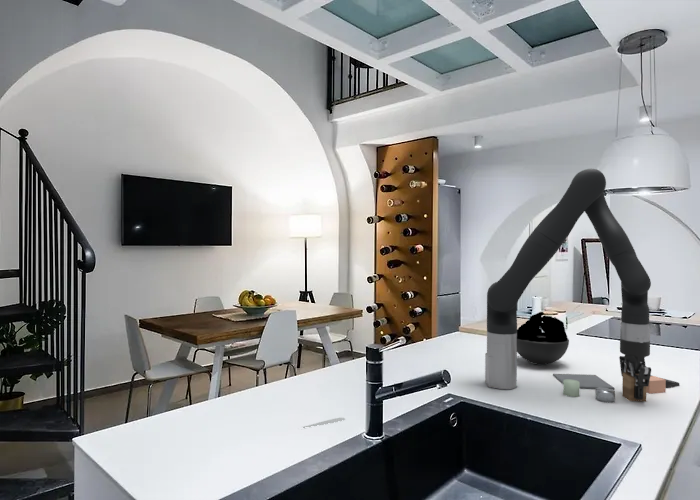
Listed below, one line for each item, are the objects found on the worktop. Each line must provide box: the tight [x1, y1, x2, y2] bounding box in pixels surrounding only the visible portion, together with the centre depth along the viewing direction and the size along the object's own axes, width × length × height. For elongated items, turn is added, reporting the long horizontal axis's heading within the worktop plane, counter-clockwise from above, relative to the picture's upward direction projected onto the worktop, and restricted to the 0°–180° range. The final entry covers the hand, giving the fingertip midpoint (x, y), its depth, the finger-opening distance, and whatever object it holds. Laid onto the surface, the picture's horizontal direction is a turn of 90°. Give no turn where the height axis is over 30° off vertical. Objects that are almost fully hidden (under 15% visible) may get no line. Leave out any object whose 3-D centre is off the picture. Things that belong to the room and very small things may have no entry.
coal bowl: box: [517, 311, 570, 366], centre depth 175 cm, size 20×20×19 cm
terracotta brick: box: [646, 375, 667, 395], centre depth 144 cm, size 6×4×4 cm, turn 104°
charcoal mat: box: [552, 373, 615, 391], centre depth 152 cm, size 14×14×1 cm
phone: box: [650, 375, 680, 389], centre depth 154 cm, size 8×1×15 cm
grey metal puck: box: [594, 387, 616, 404], centre depth 136 cm, size 5×5×3 cm
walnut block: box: [621, 373, 647, 402], centre depth 137 cm, size 4×4×7 cm
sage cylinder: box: [562, 379, 581, 398], centre depth 140 cm, size 4×4×4 cm
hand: (634, 395), depth 137 cm, fingers closed on walnut block, 4 cm apart
